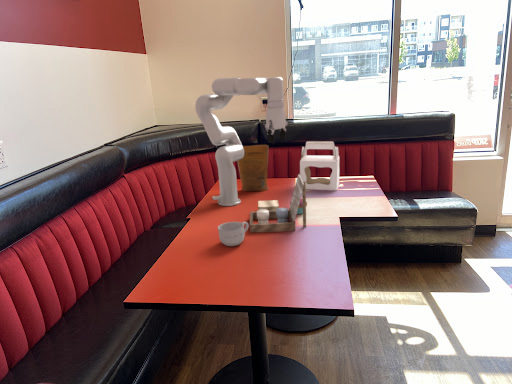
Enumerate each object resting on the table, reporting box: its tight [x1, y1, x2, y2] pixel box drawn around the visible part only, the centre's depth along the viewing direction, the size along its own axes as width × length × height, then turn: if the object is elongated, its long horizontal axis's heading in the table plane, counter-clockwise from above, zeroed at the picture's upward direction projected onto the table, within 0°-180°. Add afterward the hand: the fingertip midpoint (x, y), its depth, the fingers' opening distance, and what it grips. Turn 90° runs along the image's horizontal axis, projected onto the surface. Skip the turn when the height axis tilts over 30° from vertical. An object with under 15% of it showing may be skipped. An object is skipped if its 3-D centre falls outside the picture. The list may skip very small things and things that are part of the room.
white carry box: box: [299, 140, 340, 191], centre depth 232 cm, size 22×13×28 cm, turn 72°
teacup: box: [217, 221, 250, 247], centre depth 159 cm, size 14×11×8 cm
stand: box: [257, 199, 280, 211], centre depth 193 cm, size 10×10×5 cm
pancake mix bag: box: [236, 144, 269, 192], centre depth 231 cm, size 7×19×28 cm, turn 82°
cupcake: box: [289, 198, 308, 215], centre depth 191 cm, size 9×8×12 cm
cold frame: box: [249, 173, 307, 234], centre depth 176 cm, size 25×18×21 cm
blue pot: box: [276, 207, 289, 223], centre depth 179 cm, size 6×6×7 cm
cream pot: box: [256, 209, 269, 224], centre depth 178 cm, size 6×6×7 cm
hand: (277, 141), depth 184 cm, fingers open, 9 cm apart
